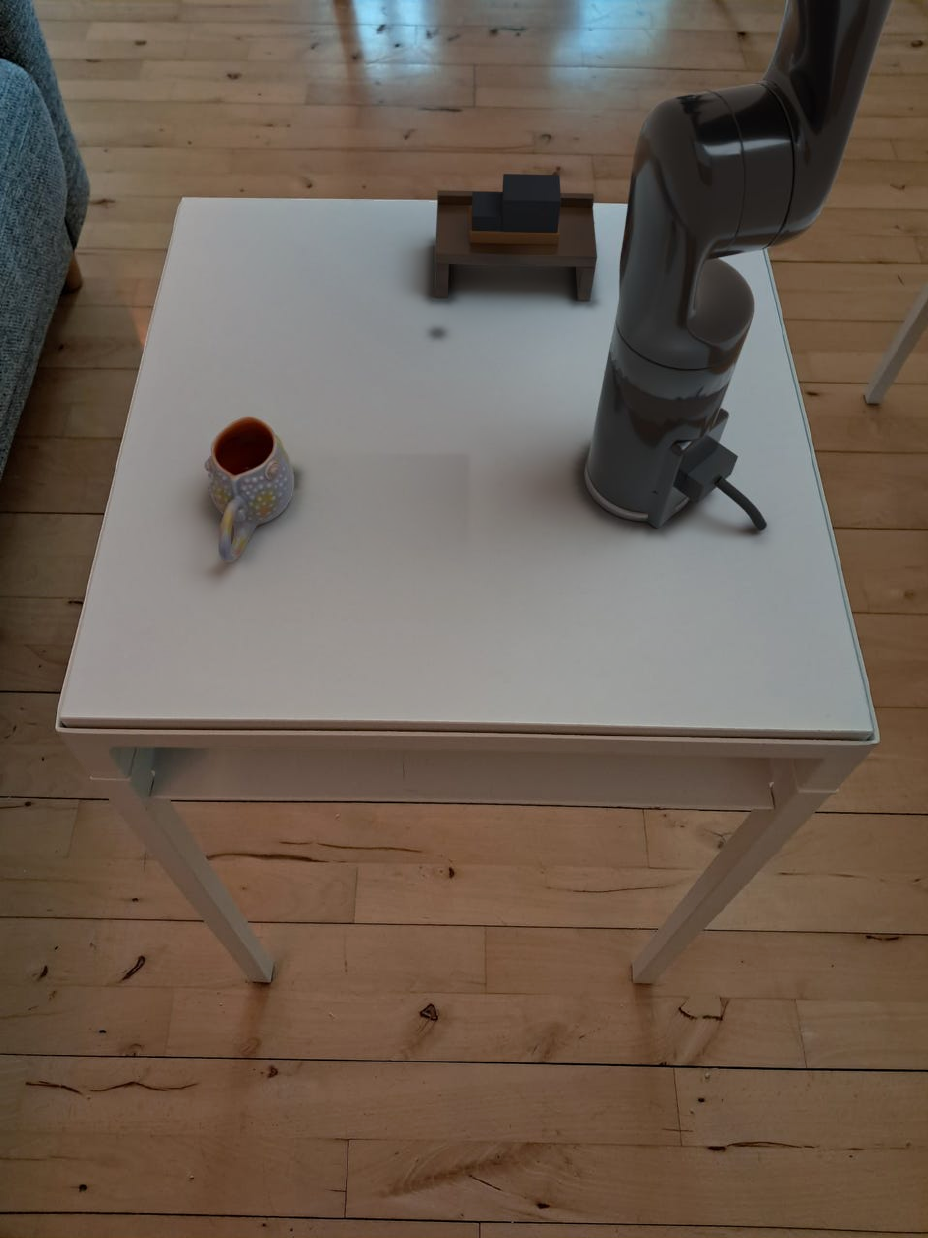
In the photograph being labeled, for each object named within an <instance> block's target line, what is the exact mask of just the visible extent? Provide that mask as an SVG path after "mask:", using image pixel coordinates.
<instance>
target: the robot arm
mask: <svg viewBox="0 0 928 1238" xmlns="http://www.w3.org/2000/svg"><path fill="white" fill-rule="evenodd" d="M894 2H895V0H786V1H785V6H784V7H785V8H784V13H783V18H782V22H781V27H780V30H779V35H778V37H777V38H778V39H777V42H776V46H775V49H774V51H773V54H772V57H771V60H770V62H769V64H768V67H767V68H766V71H765V73H764V74H763V75H762V77H761V78H760V79H759V80H758V81H757V82H752V83H748V84H747V83H745V84H741V85H736V86H729V87H722V88H716V89H711V90H703V91H698V92H692V93H691V92H690V93H685V94H680V95H676V96H675V95H674V96H670V97H668V98H665V99H663V100H660V101H659V102H658V103H656V104H655V105H654V106H653V107H652V108H651V110H650V111H649V112H648V114H647V116H646V117H645V119H644V121H643V124H642V125H641V128H640V131H639V134H638V137H637V140H636V145H635V149H634V152H633V153H634V154H633V157H632V165H631V172H630V179H629V189H628V197H627V206H626V213H625V222H624V230H623V237H622V242H621V243H622V244H621V250H620V251H621V252H620V257H619V267H618V268H619V270H618V271H619V273H618V274H619V277H618V301H617V302H618V303H617V308H616V313H615V318H614V324H613V329H612V334H611V340H610V344H609V349H608V353H607V360H606V364H605V370H604V375H603V380H602V384H601V389H600V395H599V400H598V403H597V404H598V405H597V411H596V416H595V420H594V426H593V429H592V436H591V442H590V446H589V451H588V453H587V457H586V461H585V466H584V481H585V485H586V488H587V490H588V492H589V494H590V495H591V497H592V498H593V499H594V501H596V502H597V504H598V505H600V506H601V507H602V508H603V509H605V510H606V511H608V512H609V513H611V514H612V515H615V516H618V517H619V518H622V519H626V520H630V521H635V522H636V521H637V522H646V523H648V524H650V525H651V526H652V527H654V528H656V529H658V528H660V527H661V526H662V525H664V524H665V523H666V522H667V521H669V520H670V519H671V518H672V517H673V516H674V515H676V514H677V513H678V512H680V511H681V510H682V509H683V508H684V507H685V506H686V505H687V504H688V503H689V502H691V501H692V502H693V503H695V504H697V505H699V503H700V502H702V501H703V500H704V499H705V498H706V497H707V496H709V494H711V493H712V492H713V491H714V490H715V489H716V488H717V489H718V490H720V491H721V492H722V493H724V494H725V495H726V496H727V497H728V498H729V499H730V500H732V501H733V502H734V503H735V504H737V505H738V506H739V507H740V508H741V509H742V510H743V511H744V512H745V513H746V515H747V516H748V517H749V519H750V520H751V522H752V524H753V525H754V527H755V529H756V530H757V531H759V532H760V531H761V532H762V531H763V530H765V529H766V528H767V527H768V523H767V522H766V519H765V518H764V516H763V515H762V513H761V512H760V510H759V508H758V507H757V506H756V505H755V504H754V503H753V502H752V501H751V499H749V498H748V497H747V496H746V495H745V494H743V493H742V492H741V491H740V490H739V489H737V487H735V486H734V485H733V484H732V483H731V482H729V481H728V480H727V479H728V478H729V477H731V475H732V473H733V471H734V468H735V466H736V463H737V461H738V458H739V456H738V455H737V454H735V452H733V451H731V450H730V449H729V448H727V447H726V446H724V445H723V444H721V443H720V442H721V439H722V436H723V434H724V431H725V428H726V425H727V423H728V420H729V417H730V413H729V411H727V410H726V409H725V408H723V404H724V401H725V398H726V394H727V393H728V389H729V387H730V384H731V381H732V378H733V375H734V372H735V370H736V367H737V364H738V362H739V358H740V355H741V353H742V350H743V348H744V345H745V343H746V340H747V337H748V335H749V332H750V329H751V326H752V322H753V319H754V315H755V298H754V294H753V290H752V289H751V286H750V285H749V283H748V282H747V280H746V278H745V277H744V276H743V275H742V274H741V273H740V272H739V271H738V270H737V269H736V268H735V267H733V266H732V265H731V264H729V263H728V262H726V261H725V260H722V258H725V257H731V256H736V255H740V254H745V253H751V252H756V251H763V250H768V249H773V248H776V247H779V246H782V245H784V244H788V243H789V242H792V241H794V240H796V239H798V238H800V237H801V236H803V234H805V233H806V232H808V230H809V229H810V228H811V227H812V226H813V224H814V223H815V222H816V221H817V219H818V218H819V216H820V214H821V212H822V211H823V209H824V207H825V205H826V203H827V201H828V199H829V198H830V197H829V196H830V194H831V193H832V190H833V188H834V184H835V182H836V180H837V178H838V174H839V171H840V168H841V165H842V162H843V159H844V156H845V154H846V153H845V152H846V150H847V146H848V143H849V140H850V138H851V135H852V131H853V127H854V126H855V125H854V124H855V121H856V117H857V114H858V112H859V108H860V105H861V102H862V99H863V96H864V92H865V89H866V85H867V83H868V79H869V76H870V73H871V69H872V66H873V63H874V60H875V57H876V53H877V50H878V48H879V44H880V42H881V38H882V35H883V32H884V28H885V27H886V23H887V20H888V18H889V15H890V12H891V10H892V7H893V5H894Z"/></svg>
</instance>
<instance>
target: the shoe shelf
mask: <svg viewBox="0 0 928 1238" xmlns="http://www.w3.org/2000/svg"><path fill="white" fill-rule="evenodd" d="M472 192H498V190H497V191H491V190H490V191H489V190H444V189H438V190H436V222H435V226H436V227H435V245H434V246H435V247H434V276H435V277H434V278H435V279H434V281H435V282H434V283H435V285H434V287H435V298H437V299H448V298H449V277H450V275H449V272H450V265H477V266H478V265H481V266H482V265H483V266H484V265H485V266H529V267H533V266H534V267H571V268H573V267H574V268H575V276H576V291H577V301H581V302H590V301H591V299H592V291H593V285H594V279H595V278H594V277H595V273H596V266H597V261H598V252H597V251H598V250H597V239H596V238H597V237H596V227H595V215H594V204H595V194H594V193H584V192H583V193H582V192H581V193H580V192H561V207H560V215H559V233H560V235H559V243H558V245H542V244H493V243H470V242H469V237H470V205H472Z"/></svg>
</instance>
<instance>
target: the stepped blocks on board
mask: <svg viewBox="0 0 928 1238" xmlns="http://www.w3.org/2000/svg"><path fill="white" fill-rule="evenodd" d="M560 177H561V176H560V175H559V174H519V173H513V174H512V173H504V174H502V191H497V192H472V205H470V237H469V242H470V243H493V244H542V245H558V243H559V235H560V233H559V215H560V207H561V193H562V192H561V191H562V190H561V179H560Z"/></svg>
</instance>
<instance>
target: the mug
mask: <svg viewBox="0 0 928 1238" xmlns="http://www.w3.org/2000/svg"><path fill="white" fill-rule="evenodd" d="M204 469H205V471H206V472H208V473H207V477H208V479H207V480H208V486H207V489H208V490H209V494H210V497H211V499H212V501H213V504H214V505H215V507H216V509H218V511H219V512H220V513H221V514H222V515H223V516H222V519H221V523H220V527H219V533H218V543H217V550H218V556H219V557H220V559H221V560H223V561H224V562H226V563H227V562H228V563H232V562H235V561H236V560H237V559H238V558H239V557H240V556H241V555H242V553H243V551H244V550H245V548H246V546H247V544H248V542H249V540H250V538H251V536H252V534H253V533H254V531H255V529H256V527H257V526H259V525H262V524H265V523H268V522H271V521H272V520H274V519H276V518H277V517H278V516H279V515H280V514H282V512H284V510H285V509H286V508H287V506H288V505H289V503H290V502H291V499H292V496H293V493H294V490H295V489H294V488H295V474H294V469H293V465H292V462H291V459H290V457H289V455H288V453H287V451H286V449H285V448H284V445H283V442H282V440H281V438H280V437H279V436H278V435H277V434H276V433H275V431H274V430H273V428H272V427H271V426H270V425H269V424H268V423H266V422H265V421H263V420H262V419H260V418H258V417H255V416H250V415H249V416H248V415H247V416H242V417H240V418H237V419H235V420H233V421H232V422H230V423H229V424H227V425H226V426H225V427H224V428H223V429H222V430H221V431H220V432H219V433H218V434H217V435H216V436H215V438H214V439H213V441H212V442H211V446H210V455H209V457H208V459H207V460H206V461H204ZM232 530H233V531H234V533H233V539H232Z"/></svg>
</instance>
